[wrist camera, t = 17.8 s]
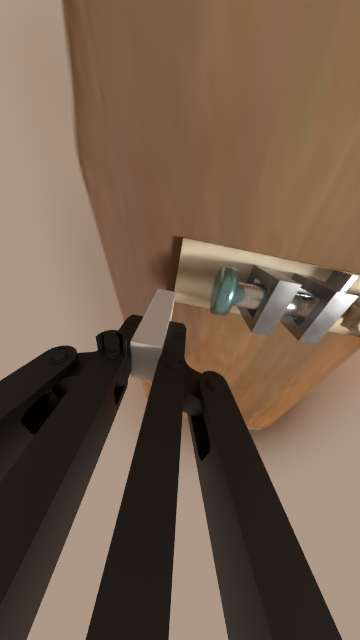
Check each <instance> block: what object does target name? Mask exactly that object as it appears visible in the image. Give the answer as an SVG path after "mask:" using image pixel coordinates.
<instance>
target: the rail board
mask: <svg viewBox="0 0 360 640" xmlns="http://www.w3.org/2000/svg"><path fill="white" fill-rule="evenodd" d="M253 265H259V266H264V267H269V268H271V269H273V270H275V271H277V272H279V273H281V274H283V275H284V276H286V277H288V278H290V279H292V277H293V275H294V274H295V273H298V274H303V275H308V276H311V277H314V278H316V279H319V280H321V281H323V282H326V280H327V279H328V278H329V276H330V275H331V273H332V272H333V271H334V270H337V269H332V268H327V267H323V266H318V265H313V264H308V263H303V262H299V261H294V260H289V259H284V258H280V257H275V256H270V255H265V254H260V253H256V252H251V251H246V250H241V249H236V248H232V247H227V246H222V245H217V244H213V243H208V242H203V241H198V240H193V239H189V238H183V242H182V248H181V254H180V260H179V266H178V272H177V278H176V284H175V290H174V292H176V295H175V301H174V302H179V303H185V304H190V305H195V306H200V307H206V308H210V297H211V292H212V288H213V284H214V281H215V278H216V275H217V273H218V271H219V269H220V268H221V267H222V266H227V267H232V268H237V269H238V271H239V282H241V283H246V282H247V279H248V277H249V275H250V272H251V270H252V268H253ZM338 271H342V270H338ZM342 272H345V273H348V274H352V275H355V276H358V277H357V279H356V280H355V281H354V282H353V284H352V285H351V286H350V287H349V288H348V290H347V292H350V293H352V294H357V293H360V274H356V273H351V272H346V271H342ZM311 297H315V296H314V295H312V296H311ZM349 309H350V307H349V308H348V309H347V310H346V311H345V312H344V313H343V315H342V316H341V317H340V318H339V319H338V320H337V321H336V322H335V324H334V325H333V326H332V327H331V328H330V329H329V330H328V331H332V332H337V333H342V334H347V335H353V336H358V337H360V333H359V332H358V331H354V332H351V331H350V330H348V329H347V328H346V327H342V326H341V325H340V324H341V323H342V320H343V319H344V317H345V316H346V314H347V312H348V311H349ZM229 312H232V313H237V314H241V313H240V311H239V309H238V308H237V306H232V308H231V310H230V311H229ZM279 322H280V320H279Z"/></svg>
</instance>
